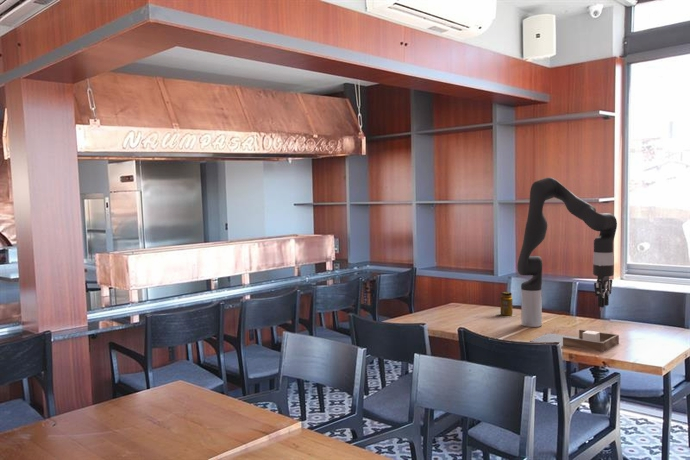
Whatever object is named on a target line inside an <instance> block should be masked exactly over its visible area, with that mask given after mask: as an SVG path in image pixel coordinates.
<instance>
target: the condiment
mask: <svg viewBox="0 0 690 460" xmlns="http://www.w3.org/2000/svg"><path fill="white" fill-rule="evenodd" d="M512 295H513V294H512V292H510V291H504V292H503V291H502V292H501V296H500V299H499V300H500V304H499V305H500V314H499V313H498V314H495V315H494V316H495V317H502V318H510V317H515V314H513V310H514V309H513V296H512Z"/></svg>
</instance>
